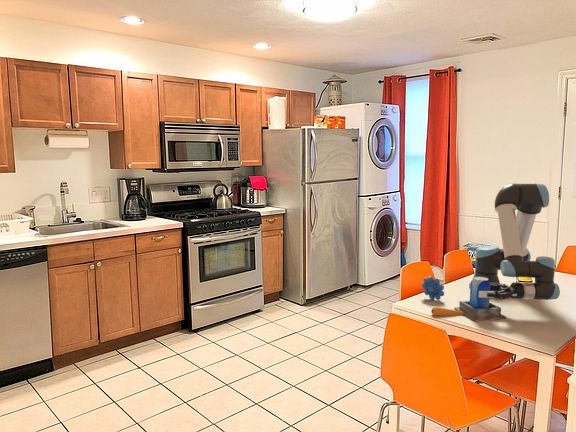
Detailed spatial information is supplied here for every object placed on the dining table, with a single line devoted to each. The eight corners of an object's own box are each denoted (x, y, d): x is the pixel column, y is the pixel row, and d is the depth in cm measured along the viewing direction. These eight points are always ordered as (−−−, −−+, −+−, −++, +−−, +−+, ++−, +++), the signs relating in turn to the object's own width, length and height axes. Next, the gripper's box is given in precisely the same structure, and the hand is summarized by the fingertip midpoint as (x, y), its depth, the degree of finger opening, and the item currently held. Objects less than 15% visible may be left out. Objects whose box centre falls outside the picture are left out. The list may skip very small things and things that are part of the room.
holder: (484, 307, 217) (484, 298, 217) (506, 318, 202) (506, 309, 201) (454, 309, 214) (454, 300, 214) (473, 321, 199) (474, 311, 198)
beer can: (480, 316, 202) (482, 281, 200) (465, 310, 210) (466, 277, 208) (493, 313, 206) (494, 279, 204) (477, 307, 214) (479, 275, 212)
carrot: (432, 318, 206) (435, 310, 204) (429, 311, 210) (432, 304, 207) (474, 321, 207) (477, 314, 205) (470, 314, 211) (473, 307, 209)
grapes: (418, 299, 230) (419, 276, 228) (422, 296, 235) (423, 274, 234) (441, 303, 223) (442, 280, 222) (445, 300, 229) (446, 277, 227)
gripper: (533, 307, 193) (483, 306, 195) (510, 290, 218) (465, 289, 220) (534, 290, 192) (483, 289, 194) (510, 275, 217) (465, 275, 219)
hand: (473, 289), depth 207 cm, fingers open, 13 cm apart
